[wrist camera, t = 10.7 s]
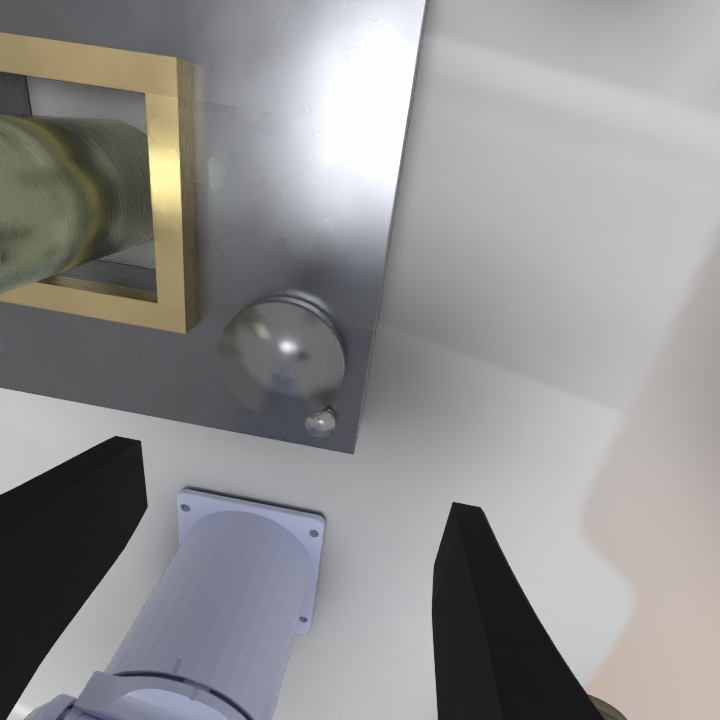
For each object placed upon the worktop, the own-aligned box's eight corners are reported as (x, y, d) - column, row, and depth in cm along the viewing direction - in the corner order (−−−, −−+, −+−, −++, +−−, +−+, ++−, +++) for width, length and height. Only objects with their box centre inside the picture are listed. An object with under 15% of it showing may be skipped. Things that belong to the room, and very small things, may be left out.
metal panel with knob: (360, 421, 22) (350, 469, 19) (-1, 355, 23) (-68, 389, 20) (441, -79, 14) (445, -141, 11) (-117, -147, 15) (-261, -223, 12)
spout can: (174, 253, 20) (-49, 356, 10) (70, 230, 20) (-243, 311, 10) (175, 129, 17) (-105, 121, 8) (57, 105, 18) (-344, 70, 8)
